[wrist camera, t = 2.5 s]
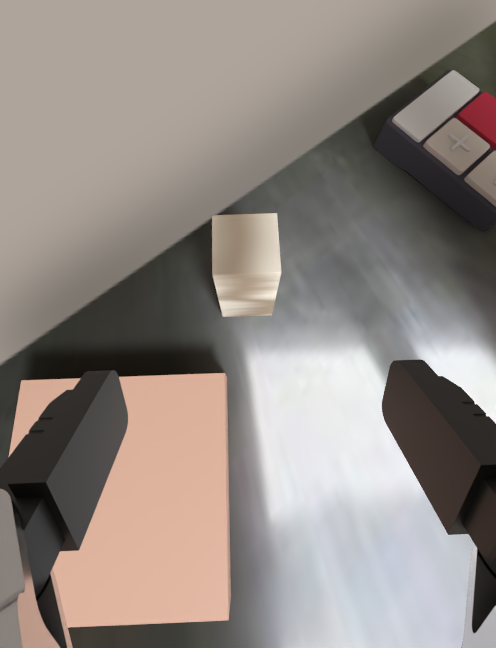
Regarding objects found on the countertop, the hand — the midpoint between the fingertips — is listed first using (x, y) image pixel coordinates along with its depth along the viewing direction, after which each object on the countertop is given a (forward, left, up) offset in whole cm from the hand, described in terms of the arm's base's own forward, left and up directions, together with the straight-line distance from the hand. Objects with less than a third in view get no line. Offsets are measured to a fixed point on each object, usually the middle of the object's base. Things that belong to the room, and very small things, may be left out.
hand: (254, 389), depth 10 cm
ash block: (0, -11, -19) cm, 22 cm away
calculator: (-24, -26, -19) cm, 40 cm away
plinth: (+10, +5, -19) cm, 22 cm away
